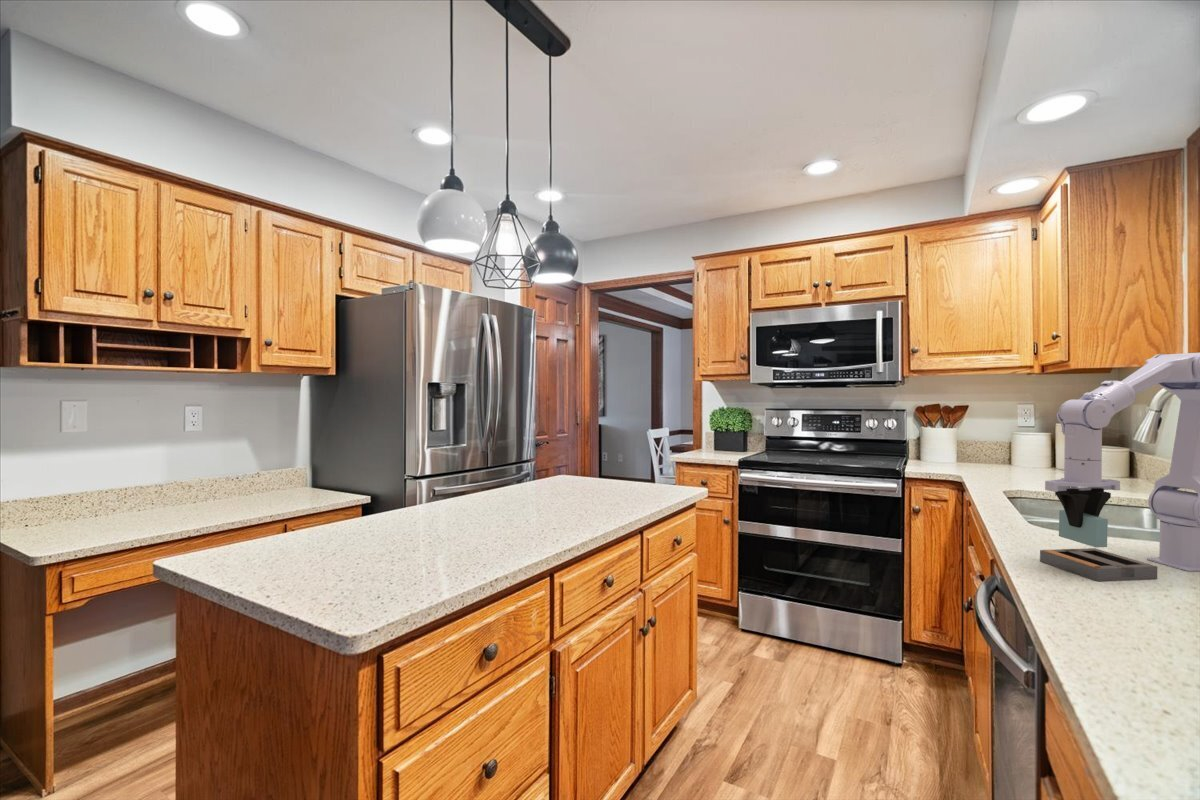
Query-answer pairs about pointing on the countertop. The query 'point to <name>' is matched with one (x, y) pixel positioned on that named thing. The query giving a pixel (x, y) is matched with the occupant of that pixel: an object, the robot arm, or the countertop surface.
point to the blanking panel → (1085, 530)
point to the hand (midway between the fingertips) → (1082, 526)
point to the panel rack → (1098, 564)
